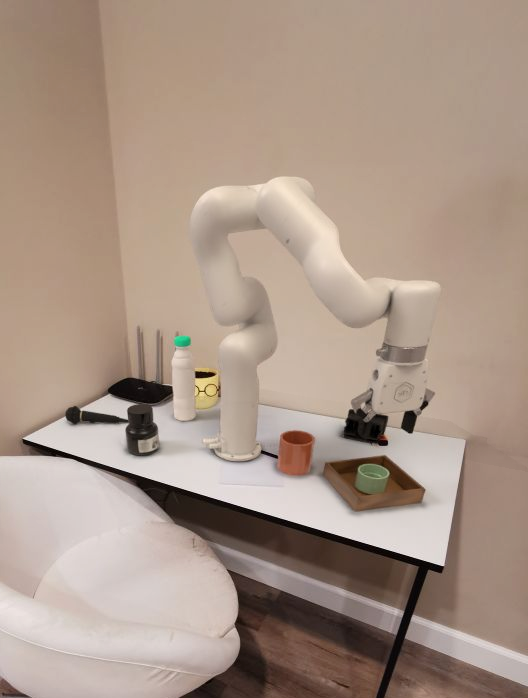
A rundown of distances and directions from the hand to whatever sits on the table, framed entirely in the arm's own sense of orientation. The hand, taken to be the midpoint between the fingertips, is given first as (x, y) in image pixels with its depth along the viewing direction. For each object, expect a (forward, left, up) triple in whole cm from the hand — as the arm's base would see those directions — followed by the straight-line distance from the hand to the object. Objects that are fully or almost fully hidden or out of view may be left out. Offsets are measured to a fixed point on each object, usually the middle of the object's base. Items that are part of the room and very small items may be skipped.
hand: (384, 433), depth 91 cm
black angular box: (+12, +25, -14) cm, 31 cm away
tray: (0, 0, -14) cm, 14 cm away
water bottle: (-34, +50, -14) cm, 62 cm away
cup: (-13, +13, -14) cm, 23 cm away
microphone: (-62, +52, -14) cm, 82 cm away
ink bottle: (-49, +32, -14) cm, 60 cm away
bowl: (0, 0, -14) cm, 14 cm away
